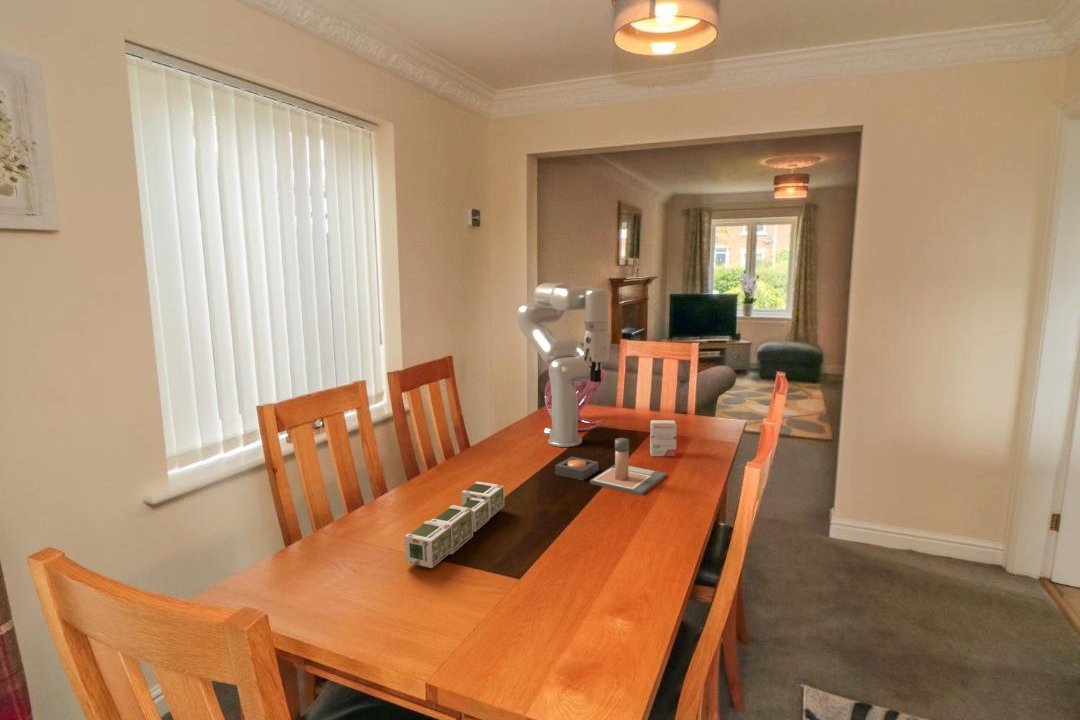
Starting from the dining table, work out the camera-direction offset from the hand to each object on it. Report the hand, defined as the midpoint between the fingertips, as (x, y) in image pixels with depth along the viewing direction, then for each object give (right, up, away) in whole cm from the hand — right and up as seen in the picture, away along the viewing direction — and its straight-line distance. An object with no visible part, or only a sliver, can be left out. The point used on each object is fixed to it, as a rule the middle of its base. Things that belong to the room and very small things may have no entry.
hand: (595, 381), depth 198 cm
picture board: (+9, -30, -17) cm, 35 cm away
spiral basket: (-4, -20, +43) cm, 48 cm away
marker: (+6, -29, -18) cm, 35 cm away
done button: (-7, -28, -10) cm, 30 cm away
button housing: (-7, -29, -10) cm, 31 cm away
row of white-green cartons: (-39, -36, -52) cm, 74 cm away
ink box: (+24, -26, +7) cm, 36 cm away
